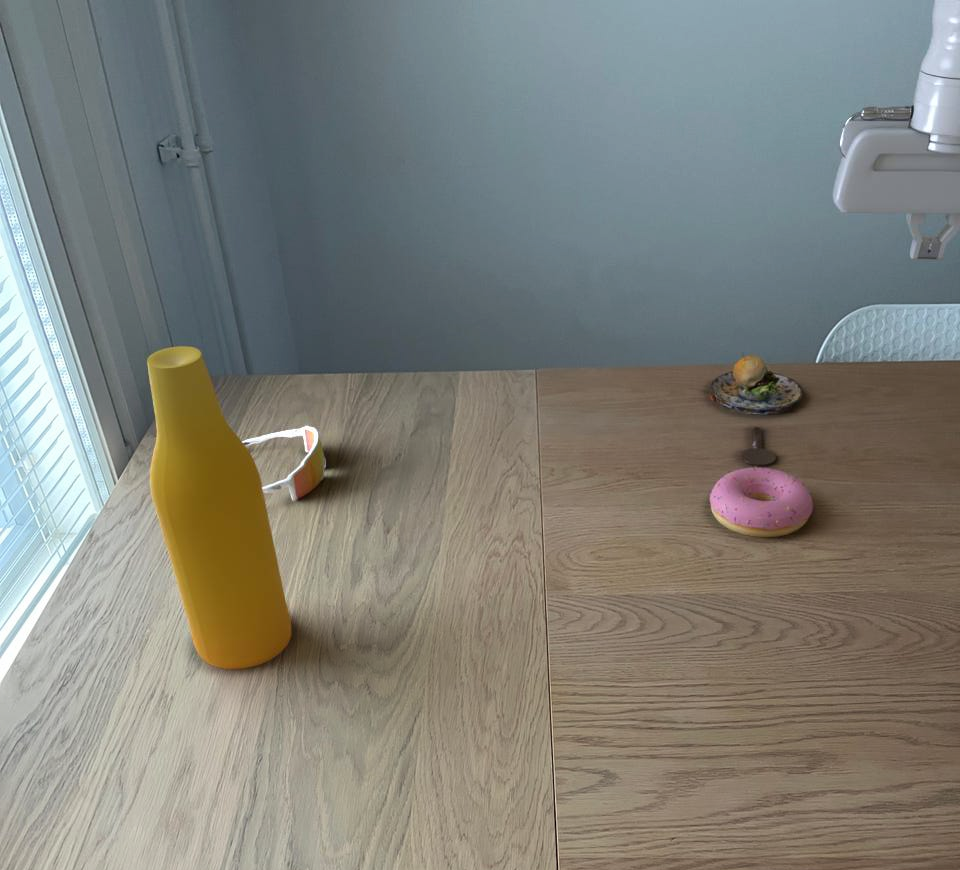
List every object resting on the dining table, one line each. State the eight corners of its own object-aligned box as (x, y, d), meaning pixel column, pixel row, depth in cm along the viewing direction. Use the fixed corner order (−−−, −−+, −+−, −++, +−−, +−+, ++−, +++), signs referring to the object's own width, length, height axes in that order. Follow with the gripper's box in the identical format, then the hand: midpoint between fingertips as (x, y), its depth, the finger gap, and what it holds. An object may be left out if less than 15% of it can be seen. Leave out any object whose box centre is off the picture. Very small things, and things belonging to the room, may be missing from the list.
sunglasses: (323, 507, 113) (311, 470, 110) (199, 528, 115) (183, 492, 112) (337, 448, 124) (325, 413, 121) (223, 468, 126) (209, 433, 123)
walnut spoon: (772, 434, 122) (773, 426, 122) (775, 472, 115) (776, 463, 115) (739, 433, 123) (740, 424, 122) (740, 470, 116) (741, 461, 115)
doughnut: (817, 501, 110) (824, 468, 107) (800, 553, 102) (807, 519, 100) (720, 484, 114) (724, 452, 111) (697, 533, 106) (700, 500, 103)
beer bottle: (313, 639, 95) (258, 351, 76) (236, 689, 90) (157, 393, 71) (253, 602, 100) (188, 324, 81) (177, 648, 94) (89, 362, 76)
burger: (804, 422, 125) (814, 366, 120) (709, 419, 126) (715, 364, 122) (796, 382, 134) (805, 328, 129) (707, 379, 135) (713, 326, 131)
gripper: (850, 114, 91) (822, 266, 99) (1089, 113, 87) (1039, 270, 96) (842, 99, 95) (817, 245, 104) (1069, 98, 92) (1023, 249, 101)
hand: (925, 257), depth 100 cm, fingers closed
